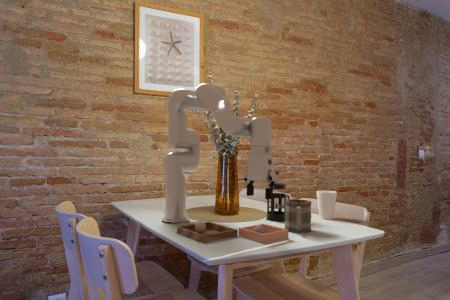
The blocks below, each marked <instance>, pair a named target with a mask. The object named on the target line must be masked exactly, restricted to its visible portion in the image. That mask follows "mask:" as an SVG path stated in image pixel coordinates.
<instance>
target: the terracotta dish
mask: <svg viewBox="0 0 450 300" xmlns="http://www.w3.org/2000/svg"><path fill="white" fill-rule="evenodd" d="M258 225H260V226H263V227H264V228H265V234H261V233H257V232H254V231H253V230H254V228H255V227H256V226H258ZM238 237H241V238H243V239H247V240H251V241H255V242H256V243H257V242H258V243H261V244H264V245H265V244H267V243H268V244H269V243H272V242H277V241H279V240H284V239H289V232H288V230H287V229H285V228H282V227H278V226H275V225H270V224H267V223H259V224H254V225H253V224H252V225H248V226H242V227H238Z"/></svg>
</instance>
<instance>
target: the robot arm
mask: <svg viewBox="0 0 450 300" xmlns="http://www.w3.org/2000/svg"><path fill="white" fill-rule="evenodd" d="M185 109H186V110H192V111H193V110H194V111H205V110H208V111H210V113H211V114H212V115H213V117H214V121H215V123H216V125H217V126H218V128H220V129H221V130H222V131H224V132H225V133H226V134H227V135H229V136H231V137H238V138H250V145H249V146H250V149H249V156H248V161H247V169H246V170H245V171H244V172H242V176H243V181H244V182H245V186H246V196H247V197H250V196H255V185H254V183H255V182H259V183H263V184H265V186H266V187H265V193H264V195H265V196H264V197H265V198H264V199H265V200H267V199H269V200H271V199H272V198H273V193H274V191H273V190H274V189H273V188H274V187H275V185H276V184H277V183H278V180H279V175H276V172H274V171H275V164H274V162H275V161H274V157H273V154H272V153H271V152H273V148H272V120H271V118H270V117H266V116H254V117H251V118H250V117H245V116H238V115H235V114H234V113H232V111H230V109H231V100H230V99H229V98H227V92H226V90H225V88H224V87H222V86H220V85H217V84H211V83H206V82H205V83H200V84H199V85H197V86H196V87H195V90H192V89H187V88H177V89H174V90H172V92H171V93H170V95H169V96H168V100H167V110H168V111H167V112H168V126H167V127H168V131H167V143H168V146H169V147H170V148H173V149H181V150H184V151H177V150H176V151H170V152H167V154H165V156H164V157H163V161H162V162H163V169H164V177H165V179H164V181H165V183H164V184H165V187H164V194H165V195H164V199H165V201H164V210H163V211H162V213H163V214H164V216H163V217H162V218H161V220H162V221H164V222H163V223H165V222H171V223H170V224H180V223H179V222H184V223H187V222H189V221H190V217H189V216H187V180H186V179H187V178H186V177H185V174H184V173H188V172H189V173H191V172H193V171H194V172H195V171H196V170H197V169H198V168H199V164H200V155H201V154H200V153H201V137H200V134H199V132H198V131H197V130H195V129H194V128H188V115H187V112H186V111H185ZM162 221H161V222H162ZM186 221H187V222H186Z"/></svg>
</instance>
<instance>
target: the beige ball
mask: <svg viewBox="0 0 450 300" xmlns="http://www.w3.org/2000/svg"><path fill="white" fill-rule="evenodd" d="M194 224H195V230H196V232H198V233H203V232H204V231H205V230H206V225H205V223H204V222H203V221H197V222H196V223H194Z"/></svg>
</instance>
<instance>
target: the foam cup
mask: <svg viewBox="0 0 450 300" xmlns="http://www.w3.org/2000/svg"><path fill="white" fill-rule="evenodd" d="M337 198H338V192H337V191H335V190H316V199H317V206H318V207H317V208H318V216H319V219H321V220H329V221H330V220H333V219H334V215H335V210H336V202H337Z"/></svg>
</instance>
